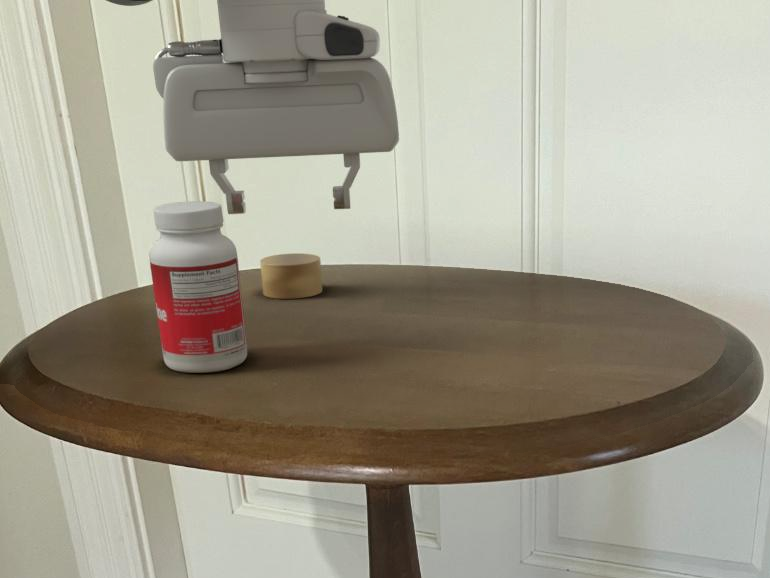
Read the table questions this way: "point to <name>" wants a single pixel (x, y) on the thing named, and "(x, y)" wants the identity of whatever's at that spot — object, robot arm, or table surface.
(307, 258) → the squat tan drum
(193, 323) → the pill bottle
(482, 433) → the table surface
